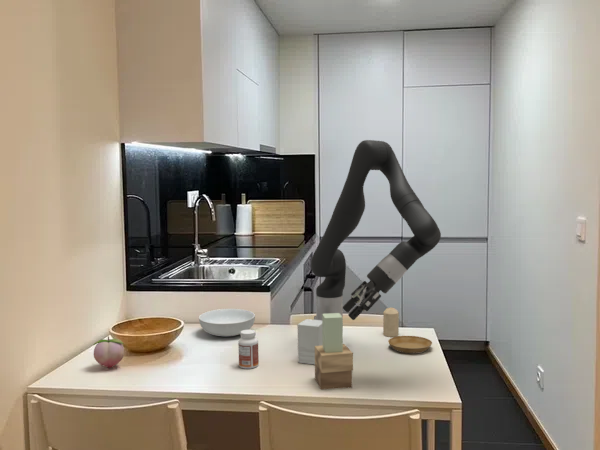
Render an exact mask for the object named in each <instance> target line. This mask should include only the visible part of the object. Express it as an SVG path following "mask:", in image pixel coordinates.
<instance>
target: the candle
mask: <svg viewBox="0 0 600 450" xmlns="http://www.w3.org/2000/svg"><path fill="white" fill-rule="evenodd" d="M382 313H383V316H382V317H383V326H382V327H383V332H382V334H383V336H384V337H388V338H393V337H397V336H399V330H400V328H399V325H400V323H399V322H400V321H399V320H400V319H399V316H400V315H399V314H400V313H399V310H398V309H396V308H394V307H386V309H385V310H384V311H383V312H382Z"/></svg>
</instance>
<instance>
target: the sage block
mask: <svg viewBox="0 0 600 450" xmlns="http://www.w3.org/2000/svg"><path fill="white" fill-rule="evenodd" d="M343 320H344V319H343V318H342V316H341V315H340V313H328V314H322V338H323V349H324V351H325V353H330V352H343V344H344V343H343V338H344V337H343V332H344V329H343V326H344V325H343V324H344V323H343V322H344V321H343Z"/></svg>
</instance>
